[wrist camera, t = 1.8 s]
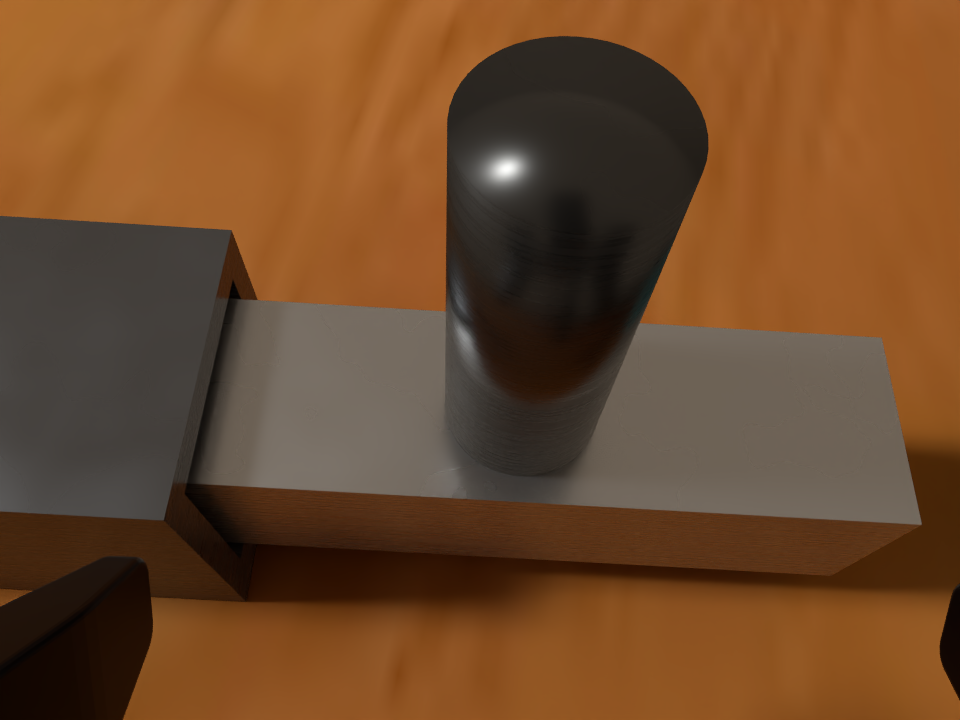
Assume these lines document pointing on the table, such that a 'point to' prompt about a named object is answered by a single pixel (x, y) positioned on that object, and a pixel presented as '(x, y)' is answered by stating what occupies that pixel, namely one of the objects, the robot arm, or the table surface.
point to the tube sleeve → (111, 400)
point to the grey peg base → (555, 368)
